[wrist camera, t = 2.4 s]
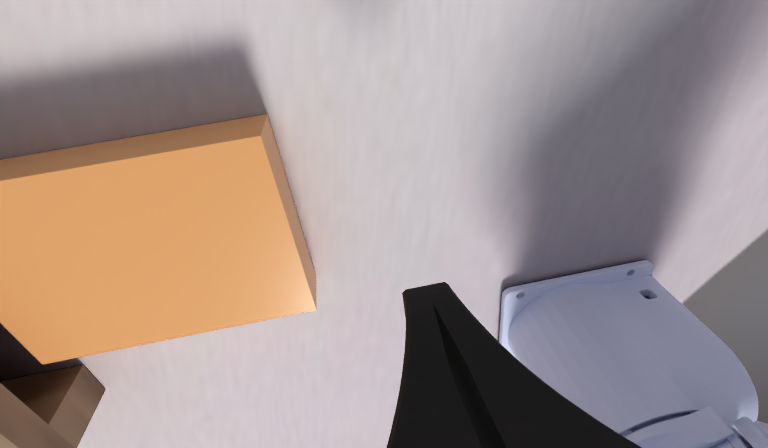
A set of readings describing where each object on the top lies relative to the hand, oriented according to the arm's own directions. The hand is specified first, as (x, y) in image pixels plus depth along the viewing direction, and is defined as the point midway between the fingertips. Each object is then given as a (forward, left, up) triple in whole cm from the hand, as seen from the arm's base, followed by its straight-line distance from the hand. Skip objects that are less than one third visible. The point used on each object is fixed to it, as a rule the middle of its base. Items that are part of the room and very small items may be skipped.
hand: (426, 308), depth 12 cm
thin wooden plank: (+11, 0, -8) cm, 14 cm away
